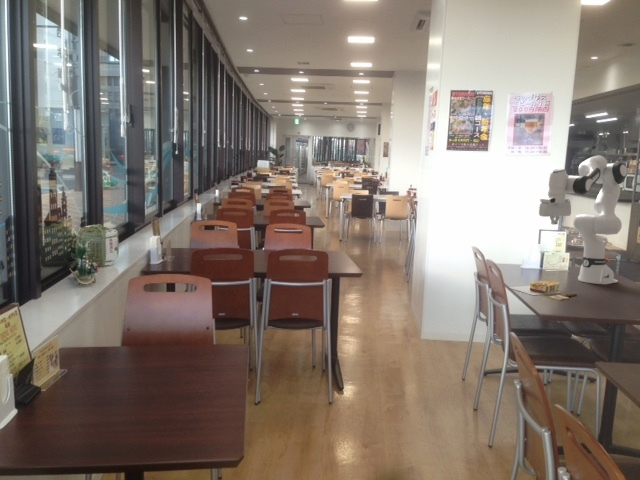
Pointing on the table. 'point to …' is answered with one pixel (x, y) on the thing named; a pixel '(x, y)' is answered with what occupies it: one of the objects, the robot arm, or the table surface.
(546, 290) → the candy box
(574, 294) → the turner
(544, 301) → the table surface
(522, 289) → the mat
